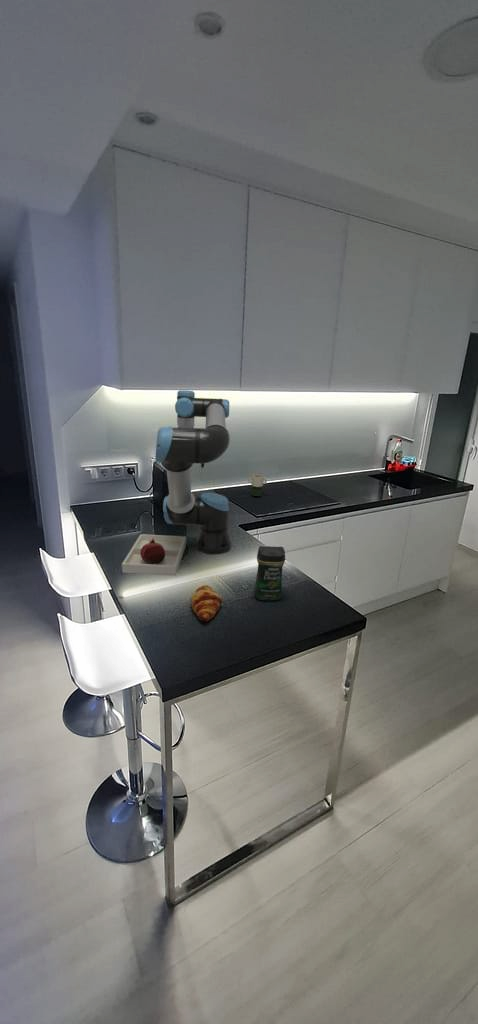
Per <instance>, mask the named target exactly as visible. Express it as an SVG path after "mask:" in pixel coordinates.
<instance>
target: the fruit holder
mask: <svg viewBox="0 0 478 1024" xmlns="http://www.w3.org/2000/svg"><path fill="white" fill-rule="evenodd" d="M152 539H154V541H155V542H156V543H160V544H161V545H162V546H163V548H164V551H165V558H164V560H163V561H162V562H160V563H159V564H158V565H156V564H152V563H147V562H144V561H143V559H142V558H141V555H140V552H141V549H142V547H143V546H144V545H145V544H148V543H150V541H152ZM186 546H187V536H184V535H183V536H181V535H162V534H161V535H160V534H159V535H158V534H145V533H144V534H143V533H142V534H139V536H138V538H137V539H136V541H135V542H134V544H133V546H132V547H131V549H130V550H129V552H128V553H127V555H126V557H125V559H124V560H123V561H122V563H121V572H122V573H125V574H143V575H145V574H147V575H160V576H161V575H163V576H176V575H177V573H178V569H179V567H180V564H181V561H182V558H183V555H184V553H185V549H186Z"/></svg>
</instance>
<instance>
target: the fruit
mask: <svg viewBox="0 0 478 1024" xmlns="http://www.w3.org/2000/svg"><path fill="white" fill-rule="evenodd" d="M140 555H141V558H142V559H143V561H144V562H147V563H152V564H156V565H158V564H159V563H160V562H162V561H163V560H164V558H165V551H164V548H163V546H162V545H161V544H160V543H156V542H155V541H154V539H152V541H150V543H148V544H145V545H144V546H143V547H142V549H141V552H140Z"/></svg>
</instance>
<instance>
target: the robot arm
mask: <svg viewBox="0 0 478 1024" xmlns="http://www.w3.org/2000/svg"><path fill="white" fill-rule="evenodd" d="M176 395H177V396H176V401H175V404H174V410H175V412H176V414H177V415H176V422H177V423H176V424H177V425H176V426H177V427H173V426H167V427H166V426H165V427H164V426H163V427H160V428H159V429H158V430H157V433H156V435H157V437H156V445H155V446H156V447H155V456H154V459H155V462H157V463H159V464H161V466H162V467H163V468H164V469H165V470H166V477H167V478H166V479H167V486H168V494H167V496H165V497H164V499H163V504H162V511H163V518H164V521H165V522H166V523H167V524H169V525H174V526H175V525H190V526H191V525H193V526H194V525H199V526H200V528H199V533H198V536H197V539H196V542H195V548H196V549H197V550H198V551H199V552H200V553H204V554H209V555H215V554H217V555H218V554H219V555H220V554H224V553H227V552H228V551H230V550H231V549H232V548H231V547H232V540H231V538H230V535H229V531H228V526H229V510H230V507H229V499H228V498H227V497H226V496H224V495H222V494H218V493H215V492H203V493H201V494H200V496H195V495H194V493H193V492H192V480H191V475H192V474H191V468H192V466H193V465H194V464H199V466H198V467H199V471H198V472H199V473H198V474H199V476H202V473H203V472H202V471H203V470H202V469H203V468H204V467H205V464H209V463H211V462H214V461H215V460H217V459H219V458H221V456H223V455H224V454H225V452H226V451H227V450H228V448H229V445H230V434H229V431H228V430H227V428H226V426H227V425H226V424H227V422H226V419H227V418H229V416H230V401H229V400H228V399H223V398H205V397H196V396H195V395H196V394H195V392H194V391H193V390H184V389H183V390H182V389H181V390H178V391H177V393H176ZM195 418H205V428H200V427H199V428H196V427H195Z"/></svg>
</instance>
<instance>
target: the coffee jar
mask: <svg viewBox="0 0 478 1024" xmlns="http://www.w3.org/2000/svg"><path fill="white" fill-rule="evenodd" d="M256 561H257V573H256V577H255V582H254V583H255V584H254V590H253V594H254V597H255V598H256V599H257V600H259V601H270V602H271V601H273V602H274V600H275V601H279V600H280V599H281V598H282V596H283V566H284V564H286V552H285V548H284V546H266V545H265V546H264V545H260V546H259V547H258V549H257V554H256Z"/></svg>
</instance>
